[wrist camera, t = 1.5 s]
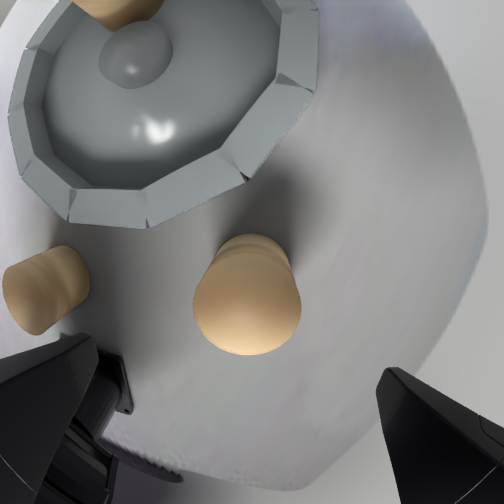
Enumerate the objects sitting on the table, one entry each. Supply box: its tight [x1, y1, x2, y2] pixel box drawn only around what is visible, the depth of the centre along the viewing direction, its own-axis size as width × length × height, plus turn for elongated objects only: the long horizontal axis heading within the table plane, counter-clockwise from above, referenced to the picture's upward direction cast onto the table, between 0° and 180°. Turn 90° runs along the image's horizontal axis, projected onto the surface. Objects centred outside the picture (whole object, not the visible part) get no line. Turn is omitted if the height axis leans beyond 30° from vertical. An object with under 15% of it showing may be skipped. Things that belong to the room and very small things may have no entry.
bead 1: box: [2, 245, 90, 335], centre depth 14 cm, size 4×4×5 cm
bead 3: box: [193, 233, 301, 355], centre depth 13 cm, size 4×4×5 cm
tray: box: [8, 0, 319, 229], centre depth 11 cm, size 19×19×3 cm
